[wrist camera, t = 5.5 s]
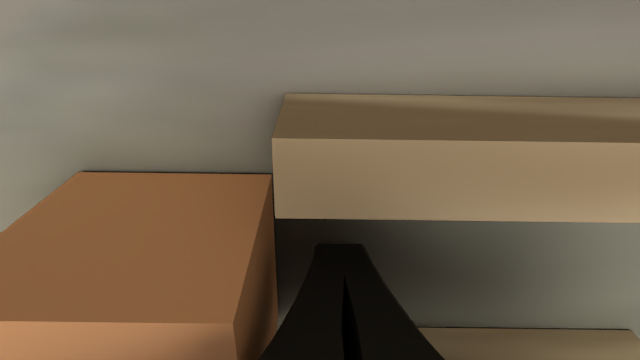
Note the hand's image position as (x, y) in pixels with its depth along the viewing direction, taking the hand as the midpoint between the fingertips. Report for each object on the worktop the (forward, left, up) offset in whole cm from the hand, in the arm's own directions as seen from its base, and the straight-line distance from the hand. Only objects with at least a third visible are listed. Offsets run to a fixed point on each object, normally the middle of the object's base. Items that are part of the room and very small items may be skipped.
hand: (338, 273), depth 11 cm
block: (0, +4, -1) cm, 4 cm away
